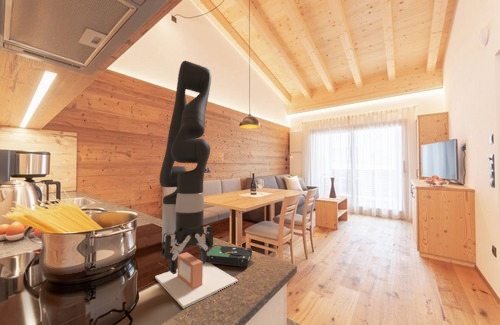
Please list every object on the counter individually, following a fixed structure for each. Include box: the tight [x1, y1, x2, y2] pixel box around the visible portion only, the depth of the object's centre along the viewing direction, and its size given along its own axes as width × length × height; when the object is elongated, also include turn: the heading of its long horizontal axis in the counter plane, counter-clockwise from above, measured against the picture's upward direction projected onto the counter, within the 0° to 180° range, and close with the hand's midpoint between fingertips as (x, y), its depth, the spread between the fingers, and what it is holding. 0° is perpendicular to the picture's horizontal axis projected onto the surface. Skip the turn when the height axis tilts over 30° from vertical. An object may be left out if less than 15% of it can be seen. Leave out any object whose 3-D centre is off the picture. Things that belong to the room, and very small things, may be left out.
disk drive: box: [205, 244, 253, 267], centre depth 71 cm, size 10×3×15 cm
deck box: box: [177, 251, 203, 289], centre depth 56 cm, size 9×3×6 cm, turn 44°
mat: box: [154, 262, 239, 310], centre depth 57 cm, size 18×16×1 cm
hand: (188, 267), depth 56 cm, fingers open, 8 cm apart
